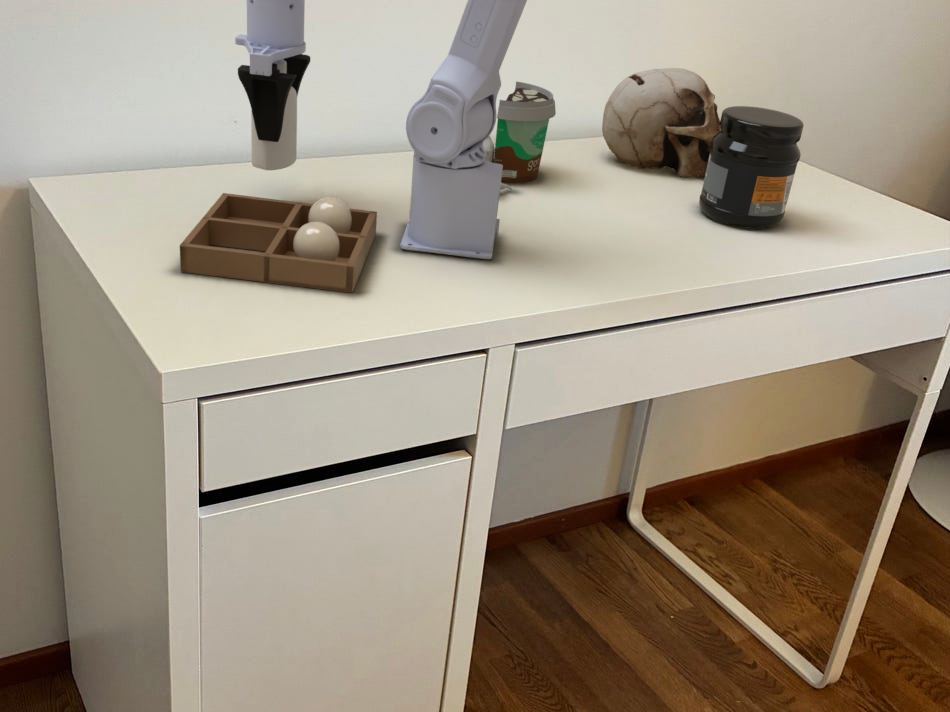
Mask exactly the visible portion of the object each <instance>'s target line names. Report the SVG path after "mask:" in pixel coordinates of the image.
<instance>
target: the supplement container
mask: <svg viewBox="0 0 950 712" xmlns="http://www.w3.org/2000/svg"><path fill="white" fill-rule="evenodd" d="M804 126H805V125H804V122H803V121H802V120H801V119H800V118H799V117H797V116H795V115H792V114H789V113H786V112H783V111H779V110H775V109H770V108H765V107H757V106H747V105H736V106H735V105H734V106H729V107H728V106H727V107H726V108H723V110H722V112H721V116H720V125H719V127H720V128H721V131H719V132H718V133H717V134H716V135H715V136H714V137H713V138H712V141H711V151H710V156H709V160H708V165H707V169H706V174H705V177H704V179H703V184H702V189H701V193H700V195H699V199H698V205H699V208H700V210H701V211H702V212H703V214H705V215H706V216H707V217H708V218H710V219H712V220H714V221H716V222H719V223H721V224H724V225H727V226H732V227H736V228H743V229H754V230H755V229H758V230H760V229H768V228H772V227H775V226H777V225H779V224H780V223H782V221H783V219H784V217H785V215H786V208H787V205H788V201H789V197H790V192H791V189H792V185H793V182H794V179H795V173H796V169H797V166H798V163H799V162H800V159H801V155H802V153H801V149H800V148H799V146H798V143H799V142H800V141H801V138H802V134H803V130H804Z"/></svg>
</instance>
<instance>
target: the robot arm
mask: <svg viewBox="0 0 950 712" xmlns="http://www.w3.org/2000/svg"><path fill="white" fill-rule="evenodd" d="M305 2H306V0H246V34H237V35H236V36H235V37H234V40H235V41H234V44H235V45H238V46H242V47H245V48H246V50H247V52H248V54H249V65H247V64H241V65H240V66H239V67H238V68H237V76H238V79H239V82H240V83H241V84H242V87H243V89H244V92H245V93H246V96H247V98H248V102H249V105H250V109H252V114H253V119H254V124H255V128H256V133H257V136H258V139H259V140H263V141H271V142H278V141H279V139H280V136H281V131H282V126H283V119H284V111H285V106H286V101H287V98H288V94H289V91H290V89H291V86H292V87H293V88H294V89H295V90H296V93H297V97H298V95H299V90H300V88H301V83H302V81H303V78H304V76H305V73H306V71H307V69H308V67H309V66H310V63H311V56H310V55H308V54H304V53H306V51H307V43H306V41H305V5H306V3H305ZM527 2H528V0H467V2H466V5H465V7H464V10H463V11H462V12H463V13H462V15H461V18H460V21H459V24H458V27H457V29H456V32H455V35H454V37H453V39H452V43H451V45H450V48H449V51H448V54H447V55H446V57H445V59H444V60H443V61H442V63H440V66H439V67H438V68H437V70H436V71H435V72H434V74H433V75H432V76H431V79H430V81H429V84H428V86H427V89H426V91H425V93H424V94H423V96H421V97H420V98H419V99H418V100H417V101H416V102H414V103H413V105H412V106H411V108H410V109H409V111H408V113H407V115H406V120H405V121H406V122H405V131H406V137H407V140H408V142H409V145H410V146H411V148H412V149H413V159H412V172H411V173H412V175H411V185H410V201H409V212H408V213H409V215H408V221H407V223H406V227H405V230H404V232H403V235H402V238H401V240H400V245H399V246H400V249H402V250H407V251H415V252H423V253H431V254H438V255H439V254H440V255H446V256H447V255H449V256H454V257H455V256H456V257H464V258H473V259H481V260H492V259H493V254H494V253H493V252H494V246H495V245H494V244H495V238H497V237H499V231H500V222H501V219H500V218H498V212H499V201H500V193H501V190H500V186H501V178H502V169H503V165H501V164H497V163H492V162H489V161H486V160H485V151H484V147H483V141H484V140H485V139H486V138H488V136H489V135H490V136H491V134H492V132H493V131H494V129H495V126H496V124H497V123H496V121H497V115H498V113H497V98H498V94H499V91H500V89H501V87H502V81H501V74H500V70H501V68H502V64H503V62H504V59H505V56H506V55H507V52H508V50H509V47H510V44H511V42H512V39H513V37H514V35H515V31H516V30H517V27H518V24H519V22H520V19H521V17H522V14H523V11H524V9H525V6H526V4H527ZM277 60H285V61H286V62H287V74H286V73H280V70H279V69H278V70H277V64H276V63H277Z"/></svg>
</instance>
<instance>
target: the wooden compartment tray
mask: <svg viewBox="0 0 950 712" xmlns="http://www.w3.org/2000/svg"><path fill="white" fill-rule="evenodd" d="M313 204H314V203H308V202H300V201H291V200H284V199H276V198H269V197H268V198H267V197H259V196H251V195H243V194H234V193H226V192H223V193H222V194H221V195H220V196H219V197H218V199H217V200H216V201H215V202H214V203H213V205H212V206H211V207H210V208H209V209H208V211H207V212H206V213H205V214H204V215H203V217H202V218H201V219H200V220H199V222H198V223H197V224H196V225H195V226H194V227H193V229H192V230H191V231H190V232H189V233H188V235H186V237H185V238H184V239H183V241H182V242H181V243H180V244H179V259H180V260H179V261H180V264H179V265H180V273H186V274H195V275H203V276H212V277H219V278H227V279H236V280H244V281H253V282H261V283H268V284H275V285H276V284H277V285H286V286H292V287H301V288H309V289H316V290H317V289H318V290H326V291H336V292H342V293H350V294H353V293H354V290H355V288H356V285H357V283H358V280H359V277H360V276H361V273H362V271H363V268H364V266H365V263H366V260H367V258H368V256H369V253H370V251H371V249H372V246H373V243H374V241H375V239H376V236H377V217H378V212H377V211H373V210H365V209H357V208H350V207H348V208H349V210H350V212H351V215H352V225H351V229H350V231H349V232H348V234H343V233H336V234H337V236H338V238H339V242H340V250H339V254H338V257H337V258H336V260H335V261H326V260H318V259H309V258H301V257H296V255H295V252H294V249H293V240H294V237H295V234H296V232H297V231H298V230H299V228H300V227H302V226H303V225H305V224H307V223H308V215H309V211H310V209H311V207H312V205H313Z"/></svg>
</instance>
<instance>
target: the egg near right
mask: <svg viewBox="0 0 950 712" xmlns="http://www.w3.org/2000/svg"><path fill="white" fill-rule="evenodd" d="M293 249H294V252H295V255H296V257H301V258H309V259H318V260H326V261H335V260H336V258H337V257H338V254H339V250H340V242H339V238H338V236H337V234H336V232H335V231H334V230H333V229H332V228H331V227H330V226H329V225H327V224H325V223H322V222H309V223H307V224H305V225H303V226H302V227H300V228H299V230H298V231H297V232H296V234H295V237H294V240H293Z"/></svg>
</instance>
